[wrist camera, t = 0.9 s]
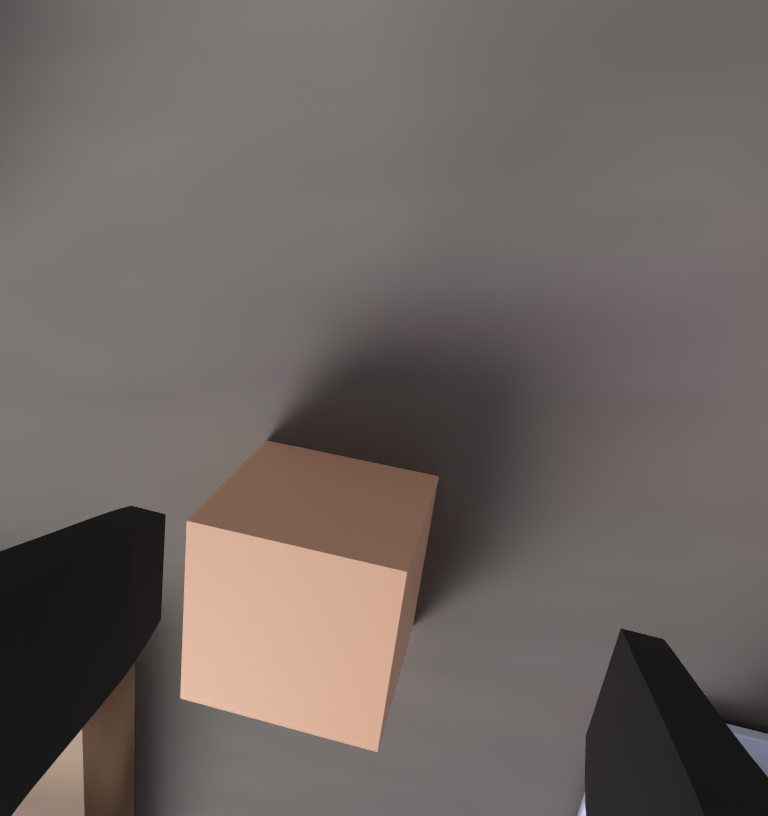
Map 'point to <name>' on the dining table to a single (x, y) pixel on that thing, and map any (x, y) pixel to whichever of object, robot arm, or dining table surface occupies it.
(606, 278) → the dining table surface
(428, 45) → the dining table surface
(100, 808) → the tan square slab
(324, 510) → the terracotta cube
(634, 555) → the dining table surface
